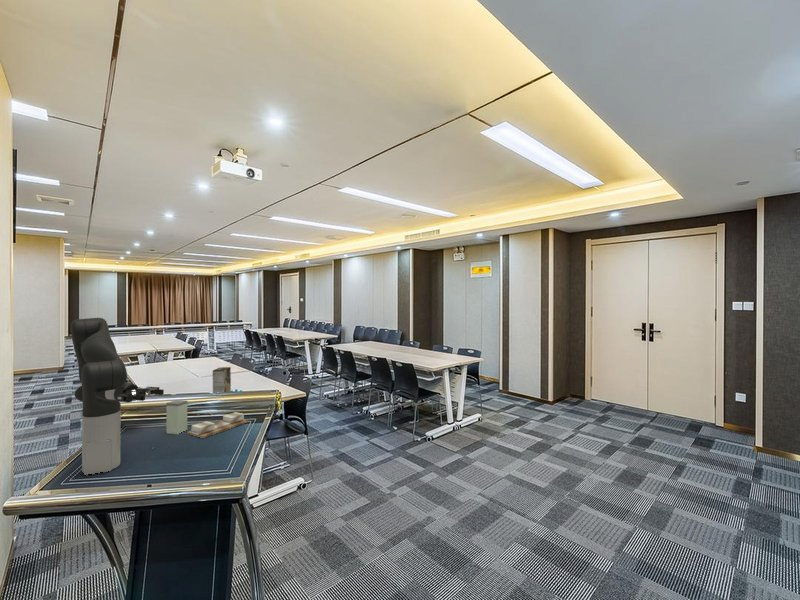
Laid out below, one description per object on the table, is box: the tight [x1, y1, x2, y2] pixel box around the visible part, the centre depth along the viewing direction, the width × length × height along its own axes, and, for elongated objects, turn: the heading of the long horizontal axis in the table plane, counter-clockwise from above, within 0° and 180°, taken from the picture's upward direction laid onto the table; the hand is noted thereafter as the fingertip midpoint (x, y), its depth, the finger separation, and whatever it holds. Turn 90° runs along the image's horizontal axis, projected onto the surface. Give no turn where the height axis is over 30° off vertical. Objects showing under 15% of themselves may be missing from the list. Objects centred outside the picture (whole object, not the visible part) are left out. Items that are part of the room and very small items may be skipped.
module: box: [166, 399, 188, 435], centre depth 142 cm, size 4×6×12 cm
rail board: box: [186, 411, 249, 439], centre depth 146 cm, size 20×10×4 cm, turn 152°
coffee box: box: [212, 366, 232, 394], centre depth 194 cm, size 9×6×16 cm
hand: (153, 395), depth 145 cm, fingers open, 8 cm apart
